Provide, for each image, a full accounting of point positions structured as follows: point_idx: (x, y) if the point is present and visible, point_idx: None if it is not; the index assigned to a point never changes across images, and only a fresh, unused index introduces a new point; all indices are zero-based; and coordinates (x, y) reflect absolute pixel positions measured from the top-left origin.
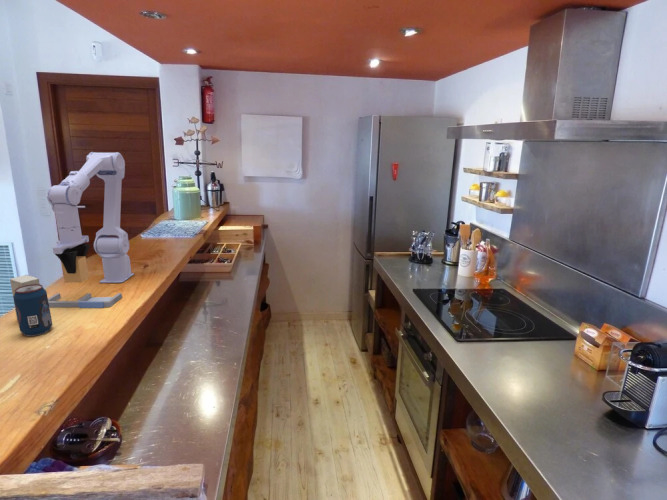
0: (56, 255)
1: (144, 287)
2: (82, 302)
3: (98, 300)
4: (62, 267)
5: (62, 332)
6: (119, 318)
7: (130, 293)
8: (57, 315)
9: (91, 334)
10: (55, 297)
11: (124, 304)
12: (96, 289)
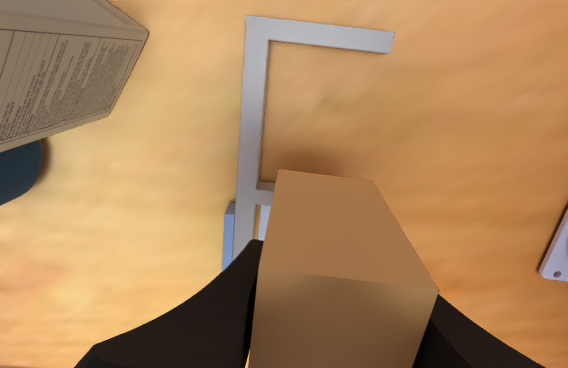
0: (101, 349)
1: None
2: (224, 229)
3: None
4: (268, 222)
5: (11, 233)
6: None
7: None
8: (152, 147)
9: (16, 316)
10: (342, 48)
11: None
12: (475, 186)
